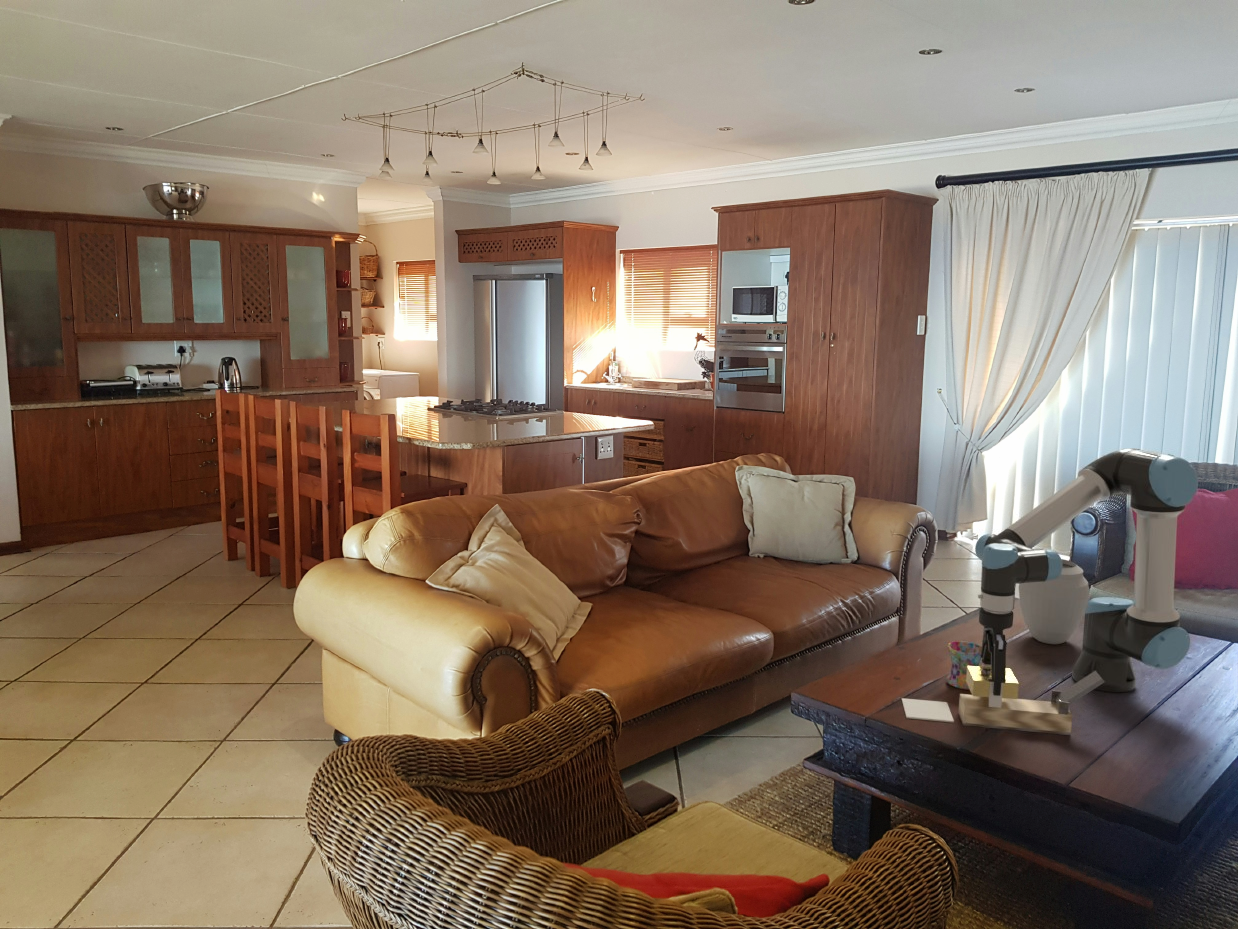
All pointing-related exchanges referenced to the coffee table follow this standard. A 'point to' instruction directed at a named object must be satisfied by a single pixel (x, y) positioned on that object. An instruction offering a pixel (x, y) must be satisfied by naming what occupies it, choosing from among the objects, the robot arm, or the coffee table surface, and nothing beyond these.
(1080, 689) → the lever
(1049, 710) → the body
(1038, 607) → the vase
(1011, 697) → the yellow block with knob
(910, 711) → the felt pad
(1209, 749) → the coffee table surface
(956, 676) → the mug
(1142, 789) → the coffee table surface
